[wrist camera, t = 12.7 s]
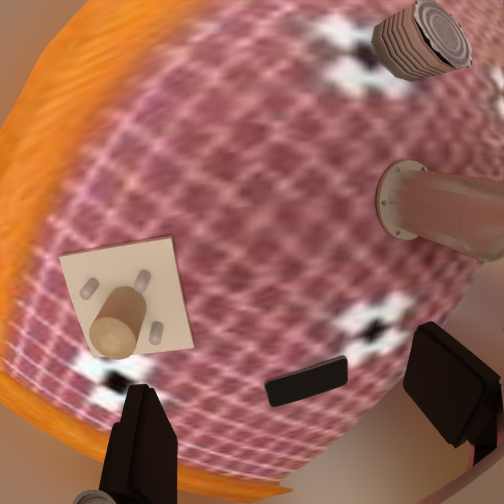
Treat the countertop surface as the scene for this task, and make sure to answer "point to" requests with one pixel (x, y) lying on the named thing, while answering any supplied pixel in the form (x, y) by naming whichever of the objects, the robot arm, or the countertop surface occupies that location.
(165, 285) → the plate
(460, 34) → the can
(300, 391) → the smartphone
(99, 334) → the candle
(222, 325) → the countertop surface
